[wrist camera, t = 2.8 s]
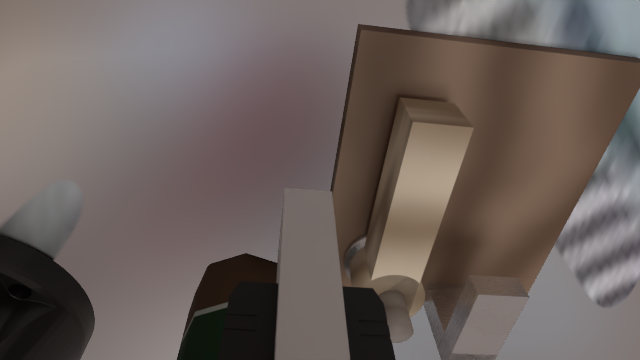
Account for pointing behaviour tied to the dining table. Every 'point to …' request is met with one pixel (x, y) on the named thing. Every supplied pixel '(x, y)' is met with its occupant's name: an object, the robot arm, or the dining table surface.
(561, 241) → the dining table surface
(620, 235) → the dining table surface
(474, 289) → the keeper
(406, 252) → the link
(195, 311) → the beer bottle
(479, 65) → the base plate
